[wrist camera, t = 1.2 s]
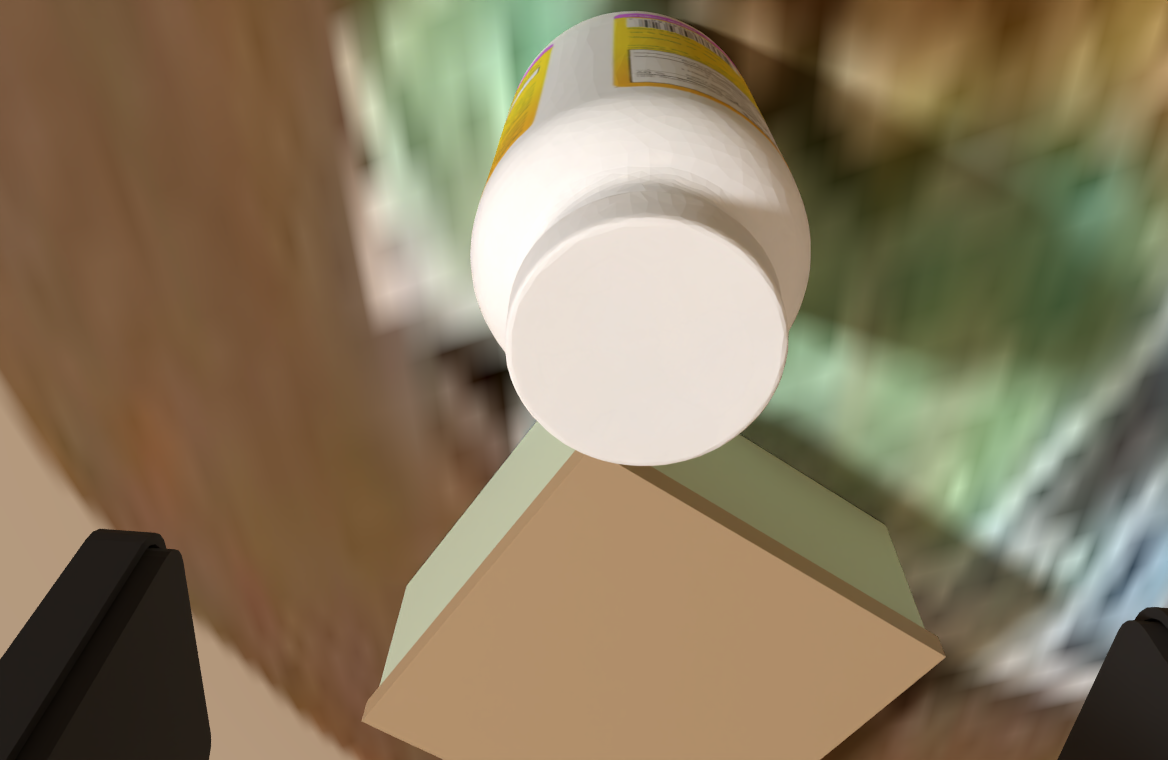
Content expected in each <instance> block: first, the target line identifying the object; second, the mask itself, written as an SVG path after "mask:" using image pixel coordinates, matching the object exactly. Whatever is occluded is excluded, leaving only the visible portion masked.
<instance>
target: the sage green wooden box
mask: <svg viewBox="0 0 1168 760" xmlns="http://www.w3.org/2000/svg"><path fill="white" fill-rule="evenodd" d="M945 657H946V656H945V653H944V651H943V648H942V646H941V643H940V640H939V638H938V636H936V635H934V634H932V633H931V632H929V631H927V630H926V629H925V628H924V625H923V623H922V620H921V617H920V615H919V612H918V609H917V607H916V604H915V602H914V599H913V596H912V594H911V591H910V588H909V586H908V583H907V580H906V578H905V575H904V572H903V570H902V567H901V564H900V562H899V559H898V557H897V554H896V551H895V549H894V546H893V543H892V541H891V538H890V535H889V533H888V530H887V527H886V525H884V524H883V523H881V522H879V521H878V520H876V519H875V518H873V517H871V516H870V515H868V514H867V513H865V512H863V511H862V510H860V509H859V508H857V507H855V506H854V505H852V504H850V503H849V502H847V501H846V500H844V499H842V498H841V497H839V496H838V495H836V494H834V493H833V492H831V491H830V490H828V489H826V488H825V487H823V486H822V485H820V484H818V483H817V482H815V481H814V480H812V479H810V478H809V477H807V476H806V475H804V474H802V473H801V472H799V471H797V470H796V469H794V468H793V467H791V466H789V465H788V464H786V463H785V462H783V461H781V460H780V459H778V458H777V457H775V456H773V455H772V454H770V453H769V452H767V451H765V450H764V449H762V448H761V447H759V446H757V445H756V444H754V443H753V442H751V441H749V440H748V439H746V438H744V437H743V436H741V435H740V434H738V435H737V436H736V437H735V438H733V439H732V440H731V441H729V442H727V443H726V444H724V445H722V446H721V447H719V448H717V449H715V450H713V451H711V452H709V453H706V454H704V455H702V456H699V457H696V458H693V459H689V460H686V461H682V462H677V463H672V464H667V465H657V466H632V465H623V464H615V463H611V462H607V461H602V460H599V459H596V458H593V457H590V456H588V455H585V454H583V453H581V452H579V451H577V450H575V449H573V448H571V447H569V446H567V445H565V444H564V443H562V442H561V441H560V440H558V439H557V438H555V437H554V436H553V435H551V434H550V433H549V432H548V431H547V430H546V429H545V428H544V427H543V426H542V425H541V424H540V423H539V422H538V421H537V422H536V423H535V424H534V426H533V427H532V428H531V429H530V431H529V432H528V433H527V434H526V436H525V437H524V438H523V439H522V441H521V442H520V443H519V444H518V446H517V447H516V448H515V450H514V451H513V452H512V453H511V455H510V456H509V457H508V458H507V460H506V461H505V462H504V463H503V465H502V466H501V467H500V469H499V470H498V471H497V472H496V474H495V475H494V476H493V477H492V479H491V480H490V481H489V482H488V484H487V485H486V486H485V487H484V489H483V490H482V491H481V493H480V494H479V495H478V496H477V498H476V499H475V500H474V501H473V503H472V504H471V505H470V506H469V508H468V509H467V510H466V512H465V513H464V514H463V515H462V517H461V518H460V519H459V520H458V522H457V523H456V524H455V525H454V527H453V528H452V529H451V530H450V532H449V533H448V534H447V536H446V537H445V538H444V539H443V541H442V542H441V543H440V544H439V546H438V547H437V548H436V549H435V551H434V552H433V553H432V555H431V556H430V557H429V558H428V560H427V561H426V562H425V563H424V565H423V566H422V567H421V568H420V570H419V571H418V572H417V574H416V575H415V576H414V577H413V579H412V580H411V581H410V582H409V584H408V585H407V587H406V591H405V594H404V598H403V602H402V605H401V609H400V613H399V616H398V620H397V624H396V627H395V631H394V635H393V639H392V642H391V646H390V650H389V653H388V657H387V661H386V664H385V668H384V672H383V676H382V679H381V683H380V686H379V688H378V689H377V690H376V691H375V692H374V694H373V695H372V696H371V697H370V698H369V700H368V701H367V704H366V707H365V711H364V714H363V718H362V722H364V723H366V724H368V725H370V726H373V727H375V728H377V729H379V730H381V731H383V732H385V733H388V734H390V735H392V736H394V737H396V738H398V739H400V740H403V741H405V742H407V743H409V744H411V745H413V746H415V747H418V748H420V749H422V750H424V751H426V752H428V753H430V754H433V755H435V756H437V757H439V758H441V759H443V760H820V759H822V758H823V757H824V756H825V755H827V754H828V753H829V752H830V751H831V750H833V749H834V748H835V747H836V746H838V745H839V744H840V743H841V742H842V741H844V740H845V739H846V738H847V737H849V736H850V735H851V734H852V733H854V732H855V731H856V730H857V729H858V728H860V727H861V726H862V725H863V724H865V723H866V722H867V721H868V720H869V719H871V718H872V717H873V716H874V715H876V714H877V713H878V712H879V711H880V710H882V709H883V708H884V707H885V706H887V705H888V704H889V703H890V702H891V701H893V700H894V699H895V698H896V697H898V696H899V695H900V694H901V693H902V692H904V691H905V690H906V689H907V688H909V687H910V686H911V685H912V684H913V683H915V682H916V681H917V680H918V679H920V678H921V677H922V676H923V675H924V674H926V673H927V672H928V671H929V670H931V669H932V668H933V667H934V666H935V665H937V664H938V663H939V662H940V661H942V660H943V659H944V658H945Z"/></svg>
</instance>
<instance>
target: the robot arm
mask: <svg viewBox="0 0 1168 760" xmlns="http://www.w3.org/2000/svg"><path fill="white" fill-rule="evenodd" d="M210 749H211V732H210V727H209V720H208V714H207V707H206V701H205V695H204V689H203V683H202V676H201V670H200V664H199V658H198V651H197V645H196V639H195V633H194V626H193V620H192V614H191V608H190V601H189V595H188V589H187V583H186V576H185V570H184V564H183V559H182V555H181V553H180V552H179V551H178V550H175V549H166V546H165V542H164V539H163V538H162V537H161V535H160V534H157V533H149V532H136V531H122V530H109V529H98V530H96V531H93V532H92V533H91V534H90V536H89V537H88V538H87V539H86V540H85V542H84V543H83V544H82V546H81V547H80V549H79V550H78V551H77V553H76V554H75V556H74V557H73V558H72V560H71V561H70V563H69V564H68V565H67V567H66V568H65V570H64V571H63V572H62V574H61V575H60V577H59V578H58V579H57V581H56V582H55V584H54V585H53V586H52V588H51V589H50V591H49V592H48V593H47V595H46V596H45V598H44V599H43V600H42V602H41V603H40V605H39V606H38V607H37V609H36V610H35V612H34V613H33V614H32V616H31V617H30V619H29V620H28V621H27V623H26V624H25V626H24V627H23V628H22V630H21V631H20V633H19V634H18V635H17V637H16V638H15V640H14V641H13V643H12V644H11V645H10V647H9V648H8V649H7V651H6V653H5V654H4V655H3V657H2V658H1V659H0V760H209V755H210ZM1058 760H1168V608H1159V607H1150V608H1146V609H1144V610H1142V611H1141V612H1140V613H1139V614H1138V616H1137V617H1136V619H1135V620H1131V621H1127V622H1125V623H1124V624H1122V626H1121V627H1120V629H1119V631H1118V633H1117V635H1116V637H1115V639H1114V641H1113V643H1112V645H1111V648H1110V650H1109V652H1108V654H1107V656H1106V658H1105V660H1104V662H1103V664H1102V667H1101V669H1100V671H1099V673H1098V675H1097V677H1096V679H1095V681H1094V684H1093V686H1092V688H1091V690H1090V692H1089V694H1088V696H1087V698H1086V700H1085V703H1084V705H1083V707H1082V709H1081V711H1080V713H1079V715H1078V717H1077V720H1076V722H1075V724H1074V726H1073V728H1072V730H1071V732H1070V734H1069V736H1068V739H1067V741H1066V743H1065V745H1064V747H1063V749H1062V751H1061V753H1060V756H1059V758H1058Z"/></svg>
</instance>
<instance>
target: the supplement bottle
mask: <svg viewBox="0 0 1168 760" xmlns="http://www.w3.org/2000/svg"><path fill="white" fill-rule="evenodd" d="M470 258H471V271H472V279H473V286H474V290H475V295H476V298H477V301H478V304H479V307H480V310H481V312H482V315H483V317H484V319H485V321H486V323H487V325H488V326H489V328H490V330H491V332H492V334H493V335H494V337H495V339H496V340H497V342H498V343H499V345H500V346H501V347H502V349H503V350H504V351H505V353H506V359H507V367H508V370H509V373H510V377H511V380H512V382H513V385H514V387H515V389H516V392H517V393H518V395H519V397H520V399H521V401H522V402H523V404H524V405H525V407H526V408H527V409H528V411H529V412H530V414H531V415H532V416H533V417H534V418H535V419H536V420H537V421H538V422H539V423H540V424H541V425H542V426H543V427H544V428H545V429H546V430H547V431H548V432H549V433H550V434H551V435H553V436H554V437H555V438H557V439H558V440H560V441H561V442H562V443H564V444H565V445H567V446H569V447H571V448H573V449H575V450H577V451H579V452H581V453H583V454H585V455H588V456H590V457H593V458H596V459H599V460H602V461H607V462H611V463H615V464H623V465H632V466H657V465H667V464H672V463H677V462H682V461H686V460H689V459H693V458H696V457H699V456H702V455H704V454H706V453H709V452H711V451H713V450H715V449H717V448H719V447H721V446H722V445H724V444H726V443H727V442H729V441H731V440H732V439H733V438H735V437H736V436H737V435H738V434H740V433H741V432H742V431H744V430H745V429H746V428H747V427H748V426H749V425H750V424H751V423H752V422H753V421H754V420H755V419H756V418H757V417H758V416H759V415H760V414H761V412H762V411H763V410H764V408H765V407H766V406H767V404H768V403H769V401H770V400H771V398H772V396H773V394H774V393H775V391H776V389H777V387H778V384H779V382H780V380H781V378H782V374H783V369H784V367H785V363H786V358H787V353H788V331H789V330H790V328H791V326H792V324H793V322H794V320H795V318H796V316H797V314H798V312H799V310H800V307H801V304H802V301H803V298H804V295H805V292H806V288H807V284H808V279H809V272H810V262H811V239H810V230H809V223H808V219H807V215H806V211H805V207H804V204H803V201H802V198H801V195H800V192H799V190H798V188H797V185H796V183H795V181H794V178H793V176H792V174H791V172H790V169H789V167H788V165H787V163H786V162H785V160H784V158H783V156H782V154H781V152H780V150H779V148H778V146H777V144H776V142H775V140H774V138H773V136H772V134H771V132H770V130H769V128H768V126H767V124H766V122H765V120H764V118H763V116H762V114H761V112H760V110H759V108H758V106H757V105H756V103H755V100H754V98H753V96H752V94H751V92H750V90H749V88H748V87H747V85H746V83H745V81H744V79H743V78H742V76H741V74H740V72H739V71H738V69H737V68H736V66H735V65H734V63H733V62H732V61H731V60H730V59H729V57H728V56H727V55H726V54H725V53H724V51H723V50H722V49H721V48H719V47H718V46H717V45H716V44H715V43H714V42H713V41H712V40H711V39H710V38H708V37H707V36H706V35H704V34H703V33H702V32H700V31H699V30H697V29H695V28H694V27H692V26H690V25H688V24H686V23H684V22H682V21H679V20H677V19H674V18H672V17H669V16H665V15H661V14H656V13H650V12H641V11H626V12H615V13H609V14H603V15H600V16H596V17H593V18H591V19H588V20H585V21H583V22H581V23H579V24H577V25H575V26H573V27H571V28H570V29H568V30H566V31H565V32H563V33H562V34H561V35H559V36H558V37H556V38H555V39H554V40H553V41H551V42H550V43H549V44H548V45H547V46H546V47H545V48H544V49H543V50H542V51H541V52H540V53H539V55H538V56H537V57H536V58H535V59H534V61H533V62H532V64H531V65H530V66H529V68H528V70H527V71H526V73H525V74H524V76H523V78H522V80H521V82H520V84H519V86H518V89H517V91H516V93H515V96H514V99H513V101H512V104H511V107H510V110H509V113H508V117H507V119H506V122H505V125H504V129H503V132H502V135H501V138H500V141H499V145H498V148H497V151H496V155H495V158H494V161H493V164H492V167H491V170H490V173H489V176H488V179H487V182H486V185H485V188H484V190H483V193H482V196H481V199H480V202H479V206H478V210H477V213H476V217H475V220H474V225H473V231H472V237H471V252H470Z"/></svg>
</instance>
